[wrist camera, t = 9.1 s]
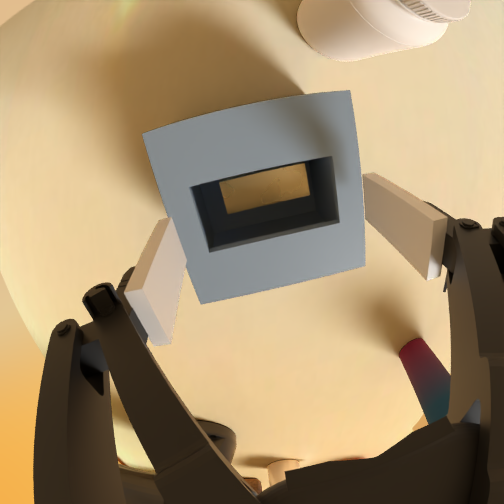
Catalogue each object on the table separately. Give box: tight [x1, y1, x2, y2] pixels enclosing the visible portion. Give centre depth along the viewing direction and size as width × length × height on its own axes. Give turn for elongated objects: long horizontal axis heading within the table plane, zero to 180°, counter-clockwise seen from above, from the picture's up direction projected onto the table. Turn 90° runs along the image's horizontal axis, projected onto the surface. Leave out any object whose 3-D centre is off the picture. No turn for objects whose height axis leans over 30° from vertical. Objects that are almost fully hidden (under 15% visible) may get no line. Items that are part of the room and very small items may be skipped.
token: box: [219, 161, 310, 214], centre depth 23 cm, size 6×2×6 cm, turn 103°
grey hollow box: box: [142, 90, 365, 304], centre depth 22 cm, size 12×12×10 cm
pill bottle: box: [297, 0, 471, 61], centre depth 13 cm, size 8×8×15 cm
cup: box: [399, 338, 451, 424], centre depth 35 cm, size 7×7×15 cm
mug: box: [267, 460, 300, 487], centre depth 57 cm, size 12×10×9 cm
